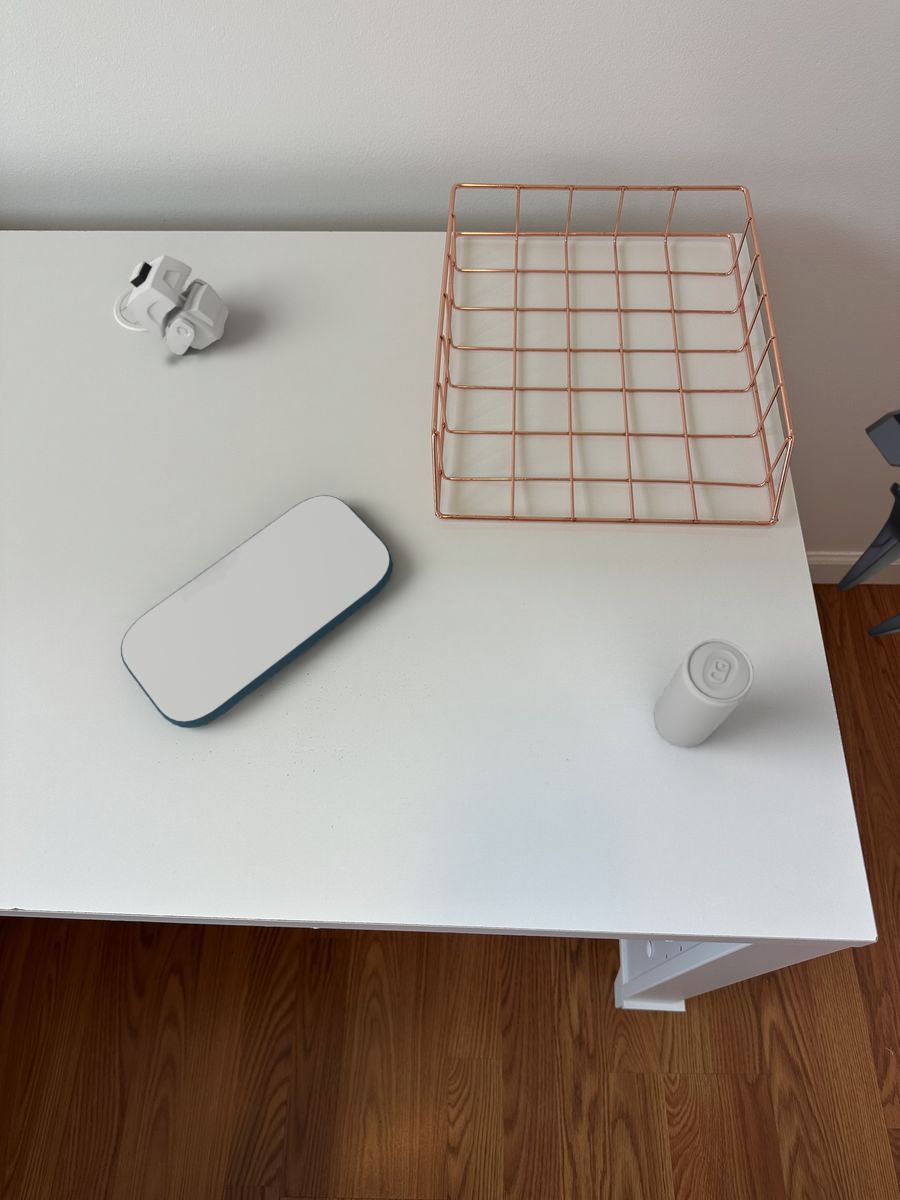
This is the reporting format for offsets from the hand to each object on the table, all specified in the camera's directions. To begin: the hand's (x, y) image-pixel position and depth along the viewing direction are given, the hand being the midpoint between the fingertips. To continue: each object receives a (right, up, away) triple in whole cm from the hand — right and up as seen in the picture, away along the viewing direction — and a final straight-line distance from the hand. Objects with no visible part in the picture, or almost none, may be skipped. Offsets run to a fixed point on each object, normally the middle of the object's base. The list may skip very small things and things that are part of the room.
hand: (854, 611), depth 57 cm
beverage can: (-9, -9, +11) cm, 17 cm away
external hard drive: (-44, 0, +17) cm, 47 cm away
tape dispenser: (-54, +28, +30) cm, 68 cm away
